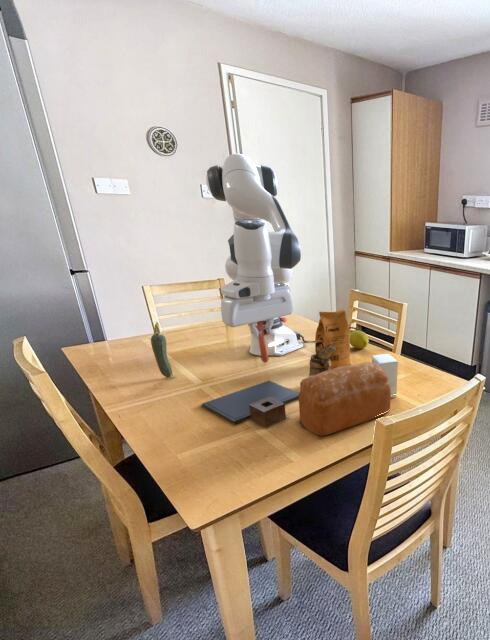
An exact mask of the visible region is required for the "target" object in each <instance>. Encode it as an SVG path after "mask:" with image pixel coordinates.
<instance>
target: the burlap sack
mask: <svg viewBox="0 0 490 640" xmlns="http://www.w3.org/2000/svg"><path fill="white" fill-rule="evenodd" d="M335 351H336V347H335V346H332V345H328V346H326V347H324V348H322V349H321V350H320V351H319V353H318V354H316V353H313V354H312V355H311V356H310V359H309V363H308V364H309V373H308V377H309V376H314V375H317V374H319V373H322V372H324V371H328V370H332V369H331V368H330V366H331V362H330V358H331V357H332V356H333V355H334V353H335Z"/></svg>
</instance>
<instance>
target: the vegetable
mask: <svg viewBox="0 0 490 640" xmlns="http://www.w3.org/2000/svg"><path fill="white" fill-rule="evenodd" d="M150 345H151V349H152V352H153V355H154V358H155V361H156V364H157V367H158V370H159V372H160V373H161V375H162V376H163V377H165V378H166V379H169V378H172V377H173V375H174V374H173V369H172V366H171V362H170V360H169V358H168V351H167V339H166V337H165V336H164V335H163V334H162V333H161V327H160V324H159V321H155V324H154V328H153V334H152V335H151V337H150Z"/></svg>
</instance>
